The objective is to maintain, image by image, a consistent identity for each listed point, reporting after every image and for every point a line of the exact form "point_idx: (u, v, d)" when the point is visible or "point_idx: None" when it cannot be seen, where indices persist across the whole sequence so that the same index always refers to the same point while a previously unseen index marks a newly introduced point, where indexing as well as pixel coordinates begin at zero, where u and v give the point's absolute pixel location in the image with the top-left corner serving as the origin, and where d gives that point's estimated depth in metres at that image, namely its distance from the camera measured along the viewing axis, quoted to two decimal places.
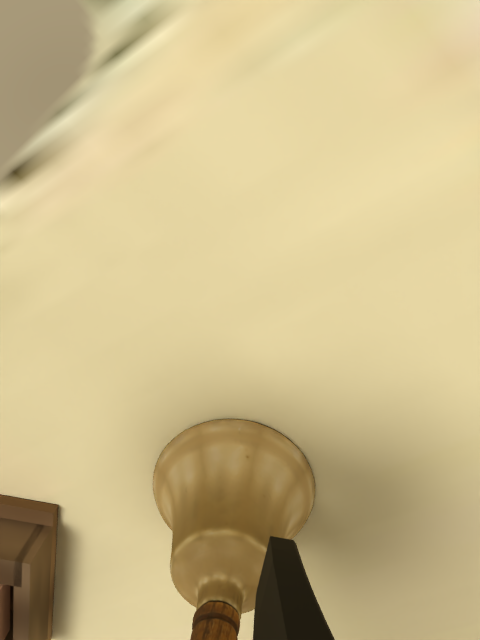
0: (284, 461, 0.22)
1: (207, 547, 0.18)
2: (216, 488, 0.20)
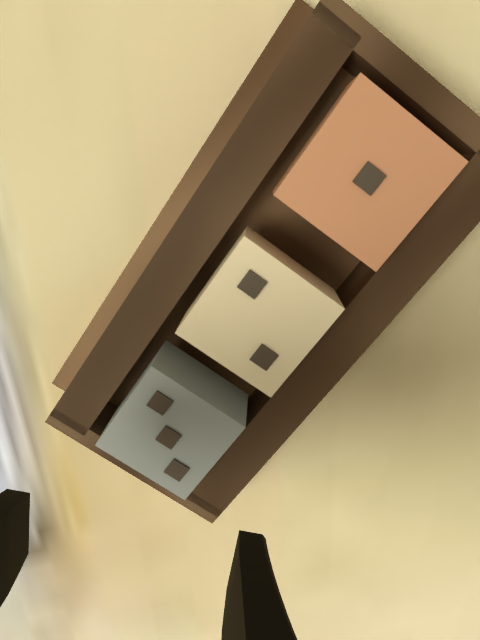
0: None
1: None
2: None
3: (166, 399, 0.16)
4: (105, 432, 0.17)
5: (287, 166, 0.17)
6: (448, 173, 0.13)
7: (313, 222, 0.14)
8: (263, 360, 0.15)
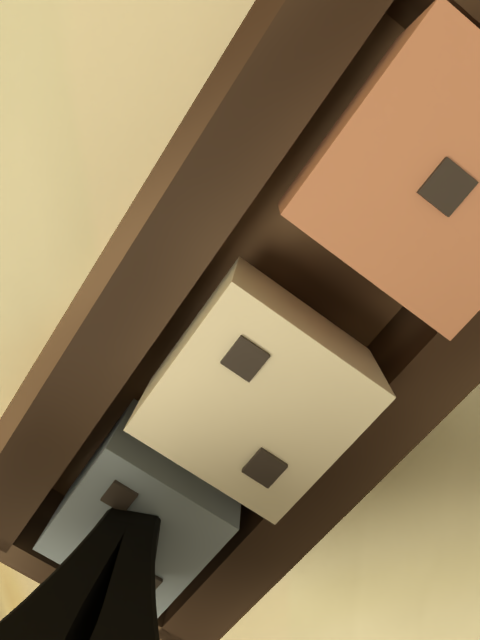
0: None
1: None
2: None
3: (127, 491, 0.12)
4: (46, 532, 0.12)
5: (299, 166, 0.11)
6: None
7: (348, 260, 0.08)
8: (263, 472, 0.10)
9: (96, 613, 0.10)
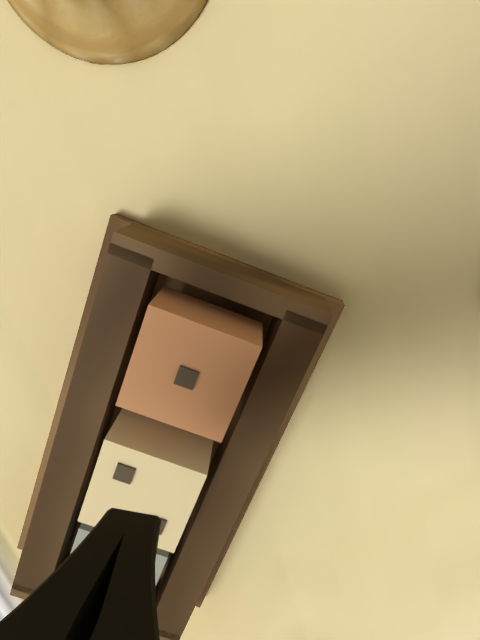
0: None
1: None
2: None
3: None
4: None
5: None
6: (249, 359, 0.15)
7: (155, 418, 0.16)
8: None
9: (96, 613, 0.10)
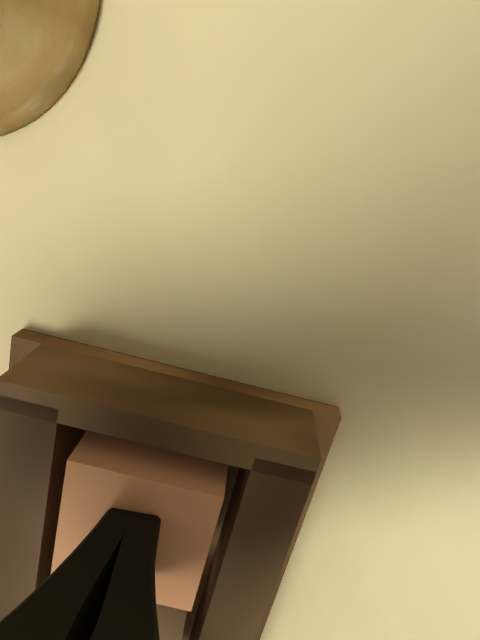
0: None
1: None
2: None
3: None
4: None
5: None
6: (210, 513, 0.12)
7: None
8: None
9: (96, 613, 0.10)
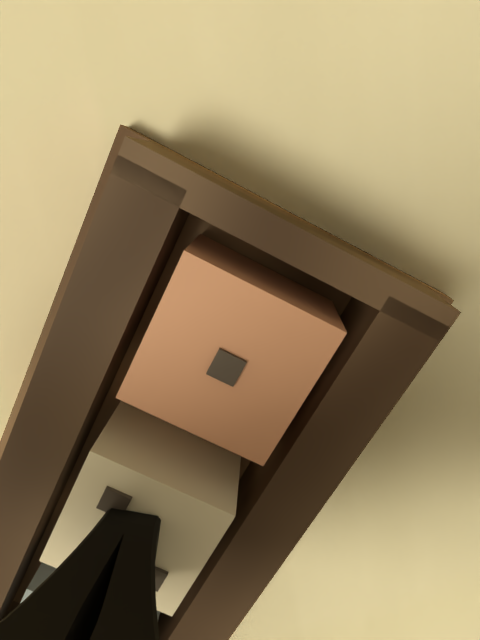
0: None
1: None
2: None
3: None
4: None
5: None
6: (324, 348, 0.10)
7: (172, 421, 0.11)
8: None
9: (96, 613, 0.10)
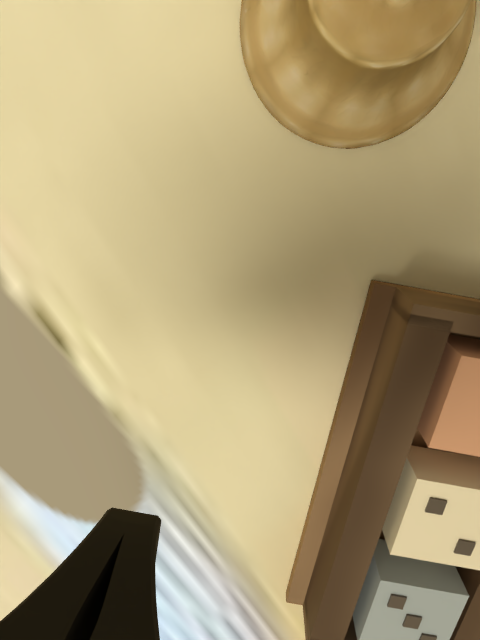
0: None
1: None
2: (290, 16, 0.14)
3: (399, 597, 0.21)
4: (362, 632, 0.21)
5: None
6: None
7: (465, 452, 0.18)
8: (464, 549, 0.19)
9: (96, 613, 0.10)
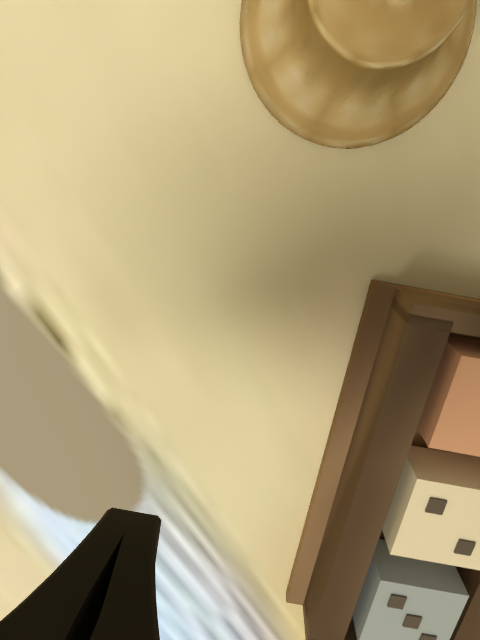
0: None
1: None
2: (290, 16, 0.14)
3: (399, 597, 0.21)
4: (362, 632, 0.21)
5: None
6: None
7: (465, 452, 0.18)
8: (464, 549, 0.19)
9: (96, 613, 0.10)
